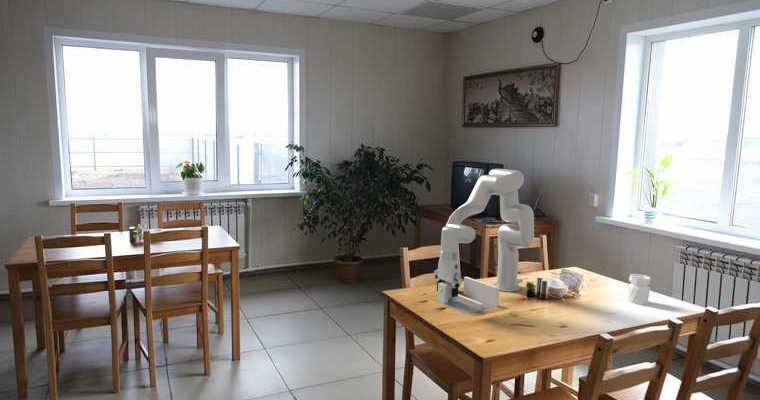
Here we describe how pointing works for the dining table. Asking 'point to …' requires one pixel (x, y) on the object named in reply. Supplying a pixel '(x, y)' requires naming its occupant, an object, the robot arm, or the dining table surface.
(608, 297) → the dining table surface
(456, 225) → the robot arm
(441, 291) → the cabinet block
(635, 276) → the white lidded jar
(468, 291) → the cleat board
